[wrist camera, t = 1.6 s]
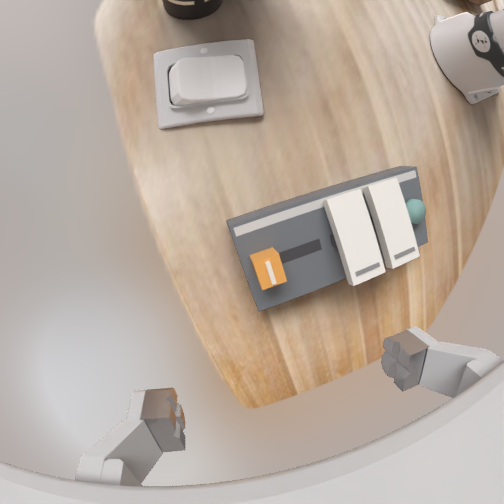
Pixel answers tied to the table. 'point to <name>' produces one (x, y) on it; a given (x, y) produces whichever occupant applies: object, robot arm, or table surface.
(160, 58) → the light switch
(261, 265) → the slider knob
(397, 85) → the table surface
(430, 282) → the table surface
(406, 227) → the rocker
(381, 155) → the table surface
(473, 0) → the frame
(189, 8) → the light fixture
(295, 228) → the panel
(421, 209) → the button
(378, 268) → the panel
